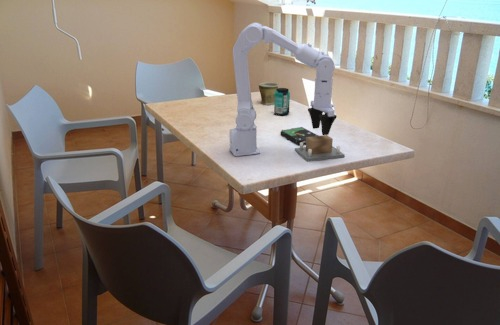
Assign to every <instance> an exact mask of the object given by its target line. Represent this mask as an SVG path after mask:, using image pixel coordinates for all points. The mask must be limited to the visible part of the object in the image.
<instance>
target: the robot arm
mask: <svg viewBox="0 0 500 325" xmlns="http://www.w3.org/2000/svg"><path fill="white" fill-rule="evenodd" d="M262 40H263V41H262ZM261 42H262V43H263V44H267V43H268V44H275V45H277V46H279V47H280V48H283V49H284V50H287V51H289V52H291V53H292V54H294V58H295V60H297V61H299V62H300V63H302V64H303V65H305V66H308V67H309V68H311V69H316V75H315V76H316V77H315V79H314V80H315V81H314V94H313V96H314V97H313V100H310V107H309V108H307V111H308V113H309V117H310V120H311V121H310V122H311V127H312V129H314V130H315V129H319V128H320V126H321V134H322V135H328V136H329V134H330V131H331V128H332V126H333V125H334V124H333V123H334V122H335V121H336V119H337V117H338V116H337V115H336V113H335V109H334V108H335V107H334V106H335V105H334V104H332V94H333V93H332V92H333V80H334V79H333V76H334V71H335V67H336V66H335V62H334V60H333V58H332V57H331V56H330V55H328V54H326V53H325V52H324V51H323V50H322V51H319V50H318V49H316V48H314V47H312V44H311V43H310V42H309V43H299V44H298V43H297V42H295V41H293V40H291V38H289V37H287V36H285V35H284V34H282V33H280V32H279V31H277V30H275V29H274V28H271V27H269V26H266V25H263V24H261V23H259V22H252V23H250V24H249V25H247V26H246V27H244V29H243V30H241V32H240V33H239V35H238V37H237V39H236V42H235V43H234V45H233V48H232V60H233V69H234V77H235V78H234V79H235V86H236V87H235V88H236V96H237V111H236V112H237V115H236V117H235V124H236V126H235V128H231V129H230V130H229V136H228V137H229V149H228V150H230V153H231V154H232V155H233V156H234V157H241V156H250V155H259V154H261V152H260V151H259V149H258V148H257V125H256V124H255V121H256V119H257V111H256V110H255V107H254V104H253V100H252V91H251V80H250V69H249V58H248V53H249V52H250V50H251V49H252V48H254V47H255V46H256V45H258V44H260V43H261ZM322 135H321V136H322Z"/></svg>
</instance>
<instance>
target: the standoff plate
mask: <svg viewBox="0 0 500 325" xmlns="http://www.w3.org/2000/svg"><path fill="white" fill-rule="evenodd" d="M340 150H341V146H340V145H336V147H335V146H333V145H332V152H331V153H322V154H313V155H311V154H312V149H308V152H307V151H306V146H304V145H303V142H300V146H299V147H296V148H294V151H295V153H297V154H298V155H299V156H300V157H301V158H303V159H304V160H305V161H306V162H314V161H315V162H316V161H323V160H333V159H340V158H345V156H346V154H344V153H343V152H342V151H340Z"/></svg>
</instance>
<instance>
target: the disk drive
mask: <svg viewBox="0 0 500 325" xmlns="http://www.w3.org/2000/svg"><path fill="white" fill-rule="evenodd" d="M280 136H281V137H283V138H285V139H286V140H288V141H289V142H290V143H293V144H294V145H297V146H298V147H300V142H303V146H306V137H312V136H320V135H318V134H317V133H314V132H312V131H310V130H308V129H306V128H304V127H302V126H300V127H299V126H298V127H293V128H288V129H281V131H280Z"/></svg>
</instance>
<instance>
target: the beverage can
mask: <svg viewBox="0 0 500 325" xmlns="http://www.w3.org/2000/svg"><path fill="white" fill-rule="evenodd" d="M290 97H291V92H290V91H289V88H286V87H278V88H277V89H276V92H275V103H274V104H273V106H274V107H273V108H274V110H273V111H274V112H273V113H274V114H275V115H276V116H279V117H284V116H288V114H290V100H291V98H290Z"/></svg>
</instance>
